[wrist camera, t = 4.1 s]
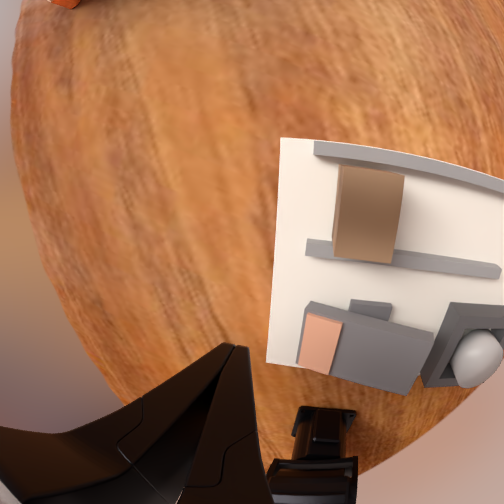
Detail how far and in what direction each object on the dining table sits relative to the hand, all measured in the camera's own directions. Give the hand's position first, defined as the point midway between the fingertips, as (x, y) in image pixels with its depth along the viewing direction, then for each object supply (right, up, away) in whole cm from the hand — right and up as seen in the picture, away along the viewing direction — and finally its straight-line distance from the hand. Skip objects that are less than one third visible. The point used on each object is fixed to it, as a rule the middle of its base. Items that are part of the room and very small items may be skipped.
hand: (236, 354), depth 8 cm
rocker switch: (+8, -3, +9) cm, 12 cm away
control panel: (+13, +2, +10) cm, 17 cm away
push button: (+18, -5, +7) cm, 20 cm away
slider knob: (+7, +6, +7) cm, 11 cm away
